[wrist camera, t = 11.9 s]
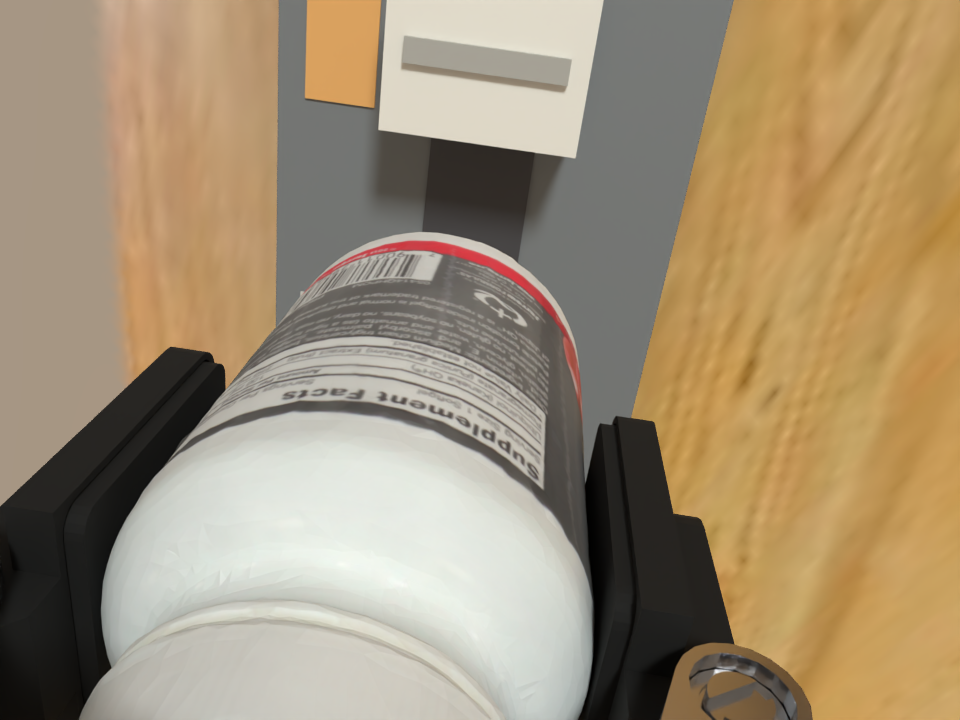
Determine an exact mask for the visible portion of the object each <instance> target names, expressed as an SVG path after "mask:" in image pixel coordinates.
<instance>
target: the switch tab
mask: <svg viewBox="0 0 960 720" xmlns="http://www.w3.org/2000/svg"><path fill="white" fill-rule="evenodd" d="M603 1H604V0H387V4H386V19H385V35H384V50H383V65H382V81H381V96H380V111H379V127H378V130H383V131H390V132H397V133H404V134H411V135H418V136H425V137H431V138H438V139H445V140H452V141H459V142H466V143H473V144H480V145H487V146H493V147H500V148H507V149H514V150H521V151H528V152H535V153H542V154H548V155H555V156H562V157H569V158H576V153H577V147H578V142H579V136H580V130H581V125H582V119H583V114H584V108H585V102H586V97H587V91H588V86H589V80H590V74H591V69H592V63H593V57H594V52H595V46H596V41H597V35H598V29H599V24H600V18H601V13H602V7H603Z"/></svg>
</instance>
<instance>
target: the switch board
mask: <svg viewBox="0 0 960 720" xmlns="http://www.w3.org/2000/svg"><path fill="white" fill-rule="evenodd" d="M733 1H734V0H604V1H603V7H602V13H601V18H600V24H599V29H598V35H597V41H596V46H595V52H594V57H593V63H592V69H591V74H590V80H589V86H588V91H587V97H586V102H585V108H584V114H583V119H582V125H581V130H580V136H579V142H578V147H577V153H576V158H569V157H562V156H555V155H548V154H542V153H535V152H528V151H521V150H514V149H507V148H500V147H493V146H487V145H480V144H473V143H466V142H459V141H452V140H445V139H438V138H431V137H425V136H418V135H411V134H404V133H397V132H390V131H383V130H378V127H379V111H380V96H381V81H382V65H383V50H384V35H385V19H386V4H387V0H279V48H278V160H277V272H276V327H277V325H278V324H279V323H280V322H281V320H282V319H283V317H284V316H285V315H286V314H287V312H288V311H289V310H290V309H291V307H292V306H293V305H294V304H295V302H296V301H297V300H298V299H299V297H301V295H302V294H303V293H304V292H305V291H306V290H307V289H308V288H309V287H310V285H311V284H312V283H313V282H314V281H315V280H316V279H317V278H318V277H319V276H320V275H321V274H322V273H323V272H324V271H325V270H326V269H327V268H328V267H329V266H331V265H332V264H333V263H335V262H336V261H337V260H338V259H340V258H341V257H343V256H344V255H346V254H347V253H349V252H351V251H353V250H355V249H357V248H359V247H361V246H363V245H365V244H367V243H369V242H372V241H375V240H378V239H382V238H386V237H390V236H393V235H399V234H405V233H414V232H431V233H442V234H448V235H453V236H458V237H462V238H467V239H470V240H473V241H477V242H481V243H484V244H486V245H488V246H491V247H493V248H495V249H497V250H499V251H500V252H502V253H504V254H506V255H508V256H510V257H511V258H513V259H514V260H515V261H516V262H517V263H518V264H519V265H521V266H522V267H523V268H525V269H526V270H528V271H529V272H530V273H531V274H532V275H533V276H534V277H535V278H536V279H537V280H538V281H539V282H540V283H541V284H542V285H544V286H545V287H546V289H547V290H548V291H549V292H550V294H551V295H552V296H553V298H554V299H555V300H556V302H557V303H558V305H559V306H560V308H561V310H562V312H563V314H564V316H565V318H566V320H567V322H568V324H569V327H570V329H571V332H572V335H573V337H574V341H575V345H576V349H577V355H578V363H579V373H580V382H581V396H582V423H583V440H584V473H585V483H586V478H587V474H588V469H589V465H590V460H591V456H592V451H593V447H594V442H595V438H596V433H597V429H598V426H599V424H600V423H602V424H609V425H612V422H613V420H614V418H615V416H621V417H627V418H631V415H632V411H633V407H634V403H635V399H636V395H637V391H638V387H639V382H640V378H641V374H642V370H643V366H644V362H645V358H646V354H647V350H648V346H649V342H650V338H651V334H652V330H653V326H654V322H655V318H656V313H657V309H658V305H659V301H660V297H661V293H662V289H663V285H664V281H665V277H666V273H667V269H668V265H669V261H670V257H671V253H672V248H673V244H674V240H675V236H676V232H677V228H678V224H679V220H680V216H681V212H682V208H683V204H684V200H685V196H686V192H687V188H688V184H689V179H690V175H691V171H692V167H693V163H694V159H695V155H696V151H697V147H698V143H699V139H700V135H701V131H702V127H703V123H704V119H705V115H706V110H707V106H708V102H709V98H710V94H711V90H712V86H713V82H714V78H715V74H716V70H717V66H718V62H719V58H720V54H721V50H722V46H723V41H724V37H725V33H726V29H727V25H728V21H729V17H730V13H731V9H732V5H733Z"/></svg>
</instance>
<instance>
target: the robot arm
mask: <svg viewBox="0 0 960 720" xmlns="http://www.w3.org/2000/svg"><path fill="white" fill-rule="evenodd" d="M224 391H225V369H224V366H223V365H222V364H217V363H214V359H213V356H212V355H211V353H209V352H202V351H196V350H189V349H183V348H177V347H170V348H168V349H167V350H166V351H165V352H164V353H163V354H161V355H160V356H159V357H158V358H157V359H156V360H155V361H154V362H153V363H152V364H151V365H150V366H149V367H148V368H147V369H146V370H145V371H143V372H142V373H141V374H140V375H139V376H138V377H137V378H136V379H135V380H134V381H133V382H132V383H131V384H130V385H129V386H128V387H127V388H125V389H124V390H123V391H122V392H121V393H120V394H119V395H118V396H117V397H116V398H115V399H114V400H113V401H112V402H111V403H110V404H109V405H108V406H106V407H105V408H104V409H103V410H102V411H101V412H100V413H99V414H98V415H97V416H96V417H95V418H94V419H93V420H92V421H91V422H89V423H88V424H87V426H85V427H84V428H83V429H82V430H81V431H80V432H79V433H78V434H77V435H76V436H75V437H73V438H72V439H71V440H70V441H69V442H68V443H67V444H66V445H65V446H64V447H63V448H62V449H61V450H60V451H59V452H58V453H56V454H55V455H54V456H53V457H52V458H51V459H50V460H49V461H48V462H47V463H46V464H45V465H44V466H43V467H42V468H41V469H40V470H38V471H37V473H35V474H34V475H33V476H32V477H31V478H30V479H29V480H28V481H27V482H26V483H25V484H24V485H23V486H22V487H20V488H19V489H18V490H17V491H16V492H15V493H14V494H13V495H12V496H11V497H10V498H9V499H8V500H7V501H6V502H5V503H4V504H2V505H1V506H0V720H79V717H80V715H81V712H82V710H83V708H84V706H85V704H86V702H87V700H88V698H89V697H90V695H91V693H92V691H93V689H94V688H95V686H96V685H97V684H98V682H99V681H100V679H101V678H102V677H103V676H104V675H105V674H106V673H107V672H108V671H109V670H110V669H111V665H110V662H109V659H108V656H107V651H106V647H105V642H104V637H103V631H102V619H101V602H102V589H103V580H104V575H105V571H106V567H107V564H108V560H109V557H110V554H111V551H112V548H113V546H114V543H115V541H116V539H117V536H118V534H119V532H120V530H121V528H122V526H123V524H124V522H125V520H126V518H127V517H128V515H129V514H130V512H131V511H132V509H133V508H134V506H135V505H136V503H137V501H138V499H139V498H140V496H141V494H142V493H143V491H144V489H145V488H146V487H147V486H148V484H149V483H150V482H151V480H152V479H153V478H154V476H155V475H156V474H157V473H158V472H159V471H160V470H161V469H162V468H163V467H164V466H165V464H166V463H167V462H168V460H169V459H170V458H171V457H172V455H173V454H174V452H175V451H176V449H177V447H178V445H179V443H180V442H181V440H182V439H183V438H185V437H186V436H187V435H188V434H189V433H191V432H192V431H193V430H194V429H195V428H196V426H197V425H198V424H199V422H200V421H201V420H202V418H203V417H204V416H205V415H206V414H207V413H208V411H209V410H210V409H211V407H212V406H213V405H214V403H215V402H216V400H217V399H218V398H219V397H220V396H221V395H222V394H223V393H224ZM585 490H586V509H587V523H588V536H589V549H590V562H591V570H592V584H593V595H594V602H595V609H596V619H595V634H594V655H593V663H592V672H591V679H590V684H589V689H588V693H587V696H586V699H585V702H584V705H583V708H582V711H581V714H580V716H579V718H578V720H813V718H812V711H811V705H810V703H809V701H808V699H807V697H806V696H805V694H804V692H803V690H802V688H801V687H800V686H799V685H798V683H797V682H796V681H795V680H794V679H793V678H792V677H791V675H790V674H789V673H788V672H787V671H785V670H784V669H783V668H781V667H780V666H779V665H777V664H776V663H775V662H773V661H772V660H771V659H769V658H767V657H765V656H763V655H761V654H759V653H757V652H755V651H753V650H751V649H748V648H744V647H741V646H737V645H734V641H733V637H732V633H731V629H730V625H729V621H728V617H727V614H726V610H725V606H724V602H723V598H722V594H721V590H720V587H719V583H718V579H717V575H716V571H715V567H714V563H713V560H712V556H711V552H710V548H709V544H708V540H707V536H706V532H705V529H704V526H703V523H702V521H701V520H700V519H699V518H697V517H691V516H685V515H678V514H673V509H672V505H671V500H670V495H669V490H668V485H667V481H666V476H665V471H664V466H663V461H662V457H661V452H660V447H659V442H658V437H657V432H656V428H655V424H654V422H652V421H646V420H640V419H633V418H627V417H621V416H615V418H614V420H613V422H612V425H609V424H602V423H600V424H599V426H598V429H597V433H596V438H595V442H594V447H593V451H592V456H591V460H590V465H589V469H588V474H587V478H586V483H585Z"/></svg>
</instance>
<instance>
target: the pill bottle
mask: <svg viewBox="0 0 960 720" xmlns="http://www.w3.org/2000/svg"><path fill="white" fill-rule="evenodd" d="M101 619H102V631H103V637H104V642H105V647H106V651H107V656H108V659H109V662H110V665H111V669H110V670H109V671H108V672H107V673H106V674H105V675H104V676H103V677H102V678H101V679H100V681H99V682H98V684H97V685H96V686H95V688H94V689H93V691H92V693H91V695H90V697H89V698H88V700H87V702H86V704H85V706H84V708H83V710H82V712H81V715H80V717H79V720H578V718H579V716H580V714H581V711H582V708H583V705H584V702H585V699H586V696H587V693H588V689H589V684H590V679H591V672H592V663H593V655H594V634H595V619H596V609H595V602H594V595H593V584H592V570H591V562H590V549H589V536H588V523H587V509H586V490H585V473H584V440H583V423H582V396H581V382H580V373H579V363H578V355H577V349H576V345H575V341H574V337H573V335H572V332H571V329H570V327H569V324H568V322H567V320H566V318H565V316H564V314H563V312H562V310H561V308H560V306H559V305H558V303H557V302H556V300H555V299H554V298H553V296H552V295H551V294H550V292H549V291H548V290H547V289H546V287H545V286H544V285H542V284H541V283H540V282H539V281H538V280H537V279H536V278H535V277H534V276H533V275H532V274H531V273H530V272H529V271H528V270H526V269H525V268H523V267H522V266H521V265H519V264H518V263H517V262H516V261H515V260H514V259H513V258H511V257H510V256H508V255H506V254H504V253H502V252H500V251H499V250H497V249H495V248H493V247H491V246H488V245H486V244H484V243H481V242H477V241H473V240H470V239H467V238H462V237H458V236H453V235H448V234H442V233H431V232H414V233H405V234H399V235H393V236H390V237H386V238H382V239H378V240H375V241H372V242H369V243H367V244H365V245H363V246H361V247H359V248H357V249H355V250H353V251H351V252H349V253H347V254H346V255H344V256H343V257H341V258H340V259H338V260H337V261H336V262H335V263H333V264H332V265H331V266H329V267H328V268H327V269H326V270H325V271H324V272H323V273H322V274H321V275H320V276H319V277H318V278H317V279H316V280H315V281H314V282H313V283H312V284H311V285H310V287H309V288H308V289H307V290H306V291H305V292H304V293H303V294H302V295H301V297H299V299H298V300H297V301H296V302H295V304H294V305H293V306H292V307H291V309H290V310H289V311H288V312H287V314H286V315H285V316H284V317H283V319H282V320H281V322H280V323H279V324H278V325H277V327H276V328H275V329H274V330H273V331H272V332H271V333H270V335H269V336H268V337H267V338H266V340H265V341H264V342H263V344H262V345H261V346H260V348H259V349H258V350H257V351H256V352H255V353H254V355H253V356H252V357H251V358H250V360H249V361H248V362H247V363H246V365H245V366H244V367H243V369H242V370H241V371H240V373H239V374H238V375H237V376H236V378H235V379H234V380H233V381H232V383H231V384H230V385H229V386H228V388H227V389H226V390H225V391H224V393H223V394H222V395H221V396H220V397H219V398H218V399H217V400H216V402H215V403H214V405H213V406H212V407H211V409H210V410H209V411H208V413H207V414H206V415H205V416H204V417H203V418H202V420H201V421H200V422H199V424H198V425H197V426H196V428H195V429H194V430H193V431H192V432H191V433H189V434H188V435H187V436H186V437H185V438H183V439H182V440H181V442H180V443H179V445H178V447H177V449H176V451H175V452H174V454H173V455H172V457H171V458H170V459H169V460H168V462H167V463H166V464H165V466H164V467H163V468H162V469H161V470H160V471H159V472H158V473H157V474H156V475H155V476H154V478H153V479H152V480H151V482H150V483H149V484H148V486H147V487H146V488H145V489H144V491H143V493H142V494H141V496H140V498H139V499H138V501H137V503H136V505H135V506H134V508H133V509H132V511H131V512H130V514H129V515H128V517H127V518H126V520H125V522H124V524H123V526H122V528H121V530H120V532H119V534H118V536H117V539H116V541H115V543H114V546H113V548H112V551H111V554H110V557H109V560H108V564H107V567H106V571H105V575H104V580H103V589H102V602H101Z"/></svg>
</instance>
